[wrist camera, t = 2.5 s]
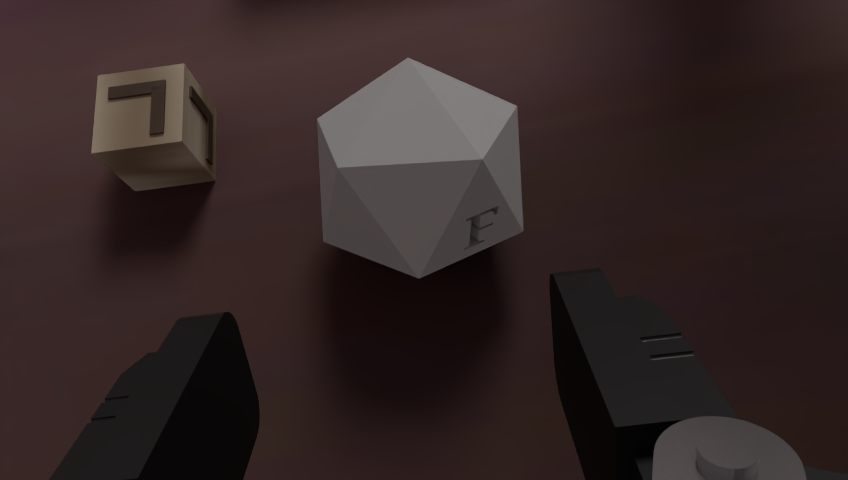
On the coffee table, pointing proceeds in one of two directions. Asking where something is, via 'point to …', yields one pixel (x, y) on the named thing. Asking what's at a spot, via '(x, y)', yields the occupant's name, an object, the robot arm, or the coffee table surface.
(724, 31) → the coffee table surface
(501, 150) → the die
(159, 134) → the letter block
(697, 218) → the coffee table surface
